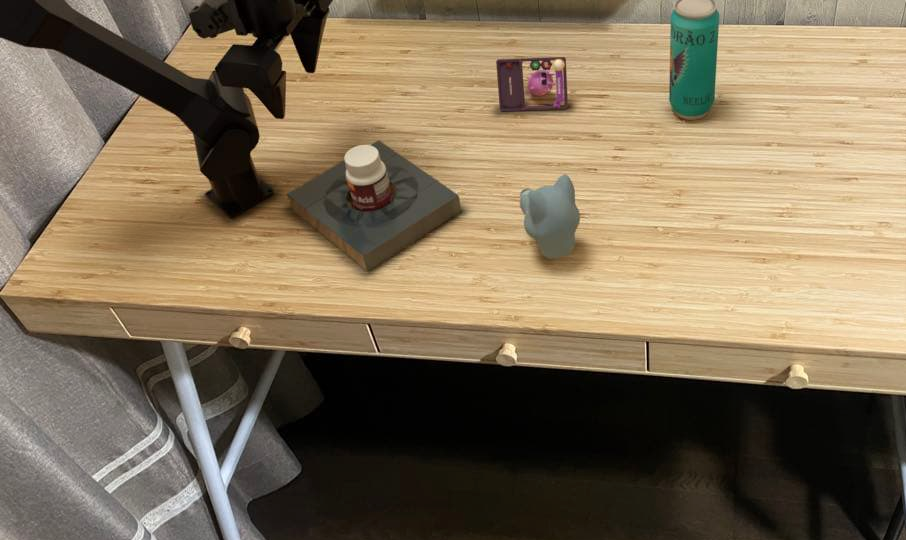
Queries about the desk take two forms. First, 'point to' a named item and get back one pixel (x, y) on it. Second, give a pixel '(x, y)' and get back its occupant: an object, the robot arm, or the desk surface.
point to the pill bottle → (367, 179)
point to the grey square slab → (379, 230)
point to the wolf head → (551, 217)
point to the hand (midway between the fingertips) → (295, 94)
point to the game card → (530, 82)
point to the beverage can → (693, 57)
